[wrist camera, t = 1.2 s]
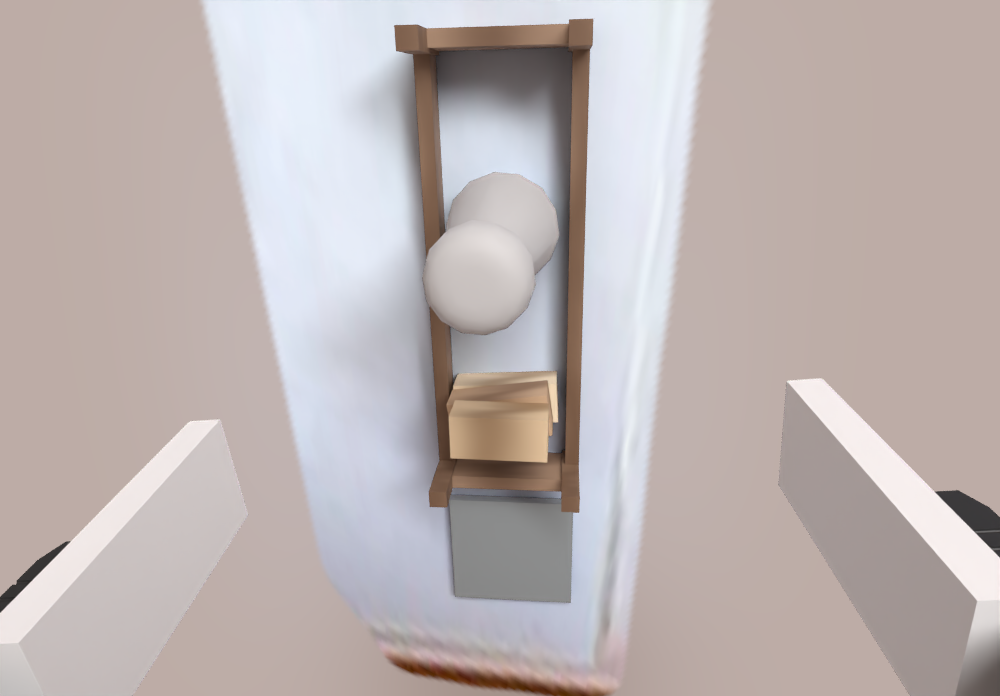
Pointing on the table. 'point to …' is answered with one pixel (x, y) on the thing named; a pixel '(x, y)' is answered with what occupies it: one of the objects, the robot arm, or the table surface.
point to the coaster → (511, 548)
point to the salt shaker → (490, 253)
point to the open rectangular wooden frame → (425, 47)
